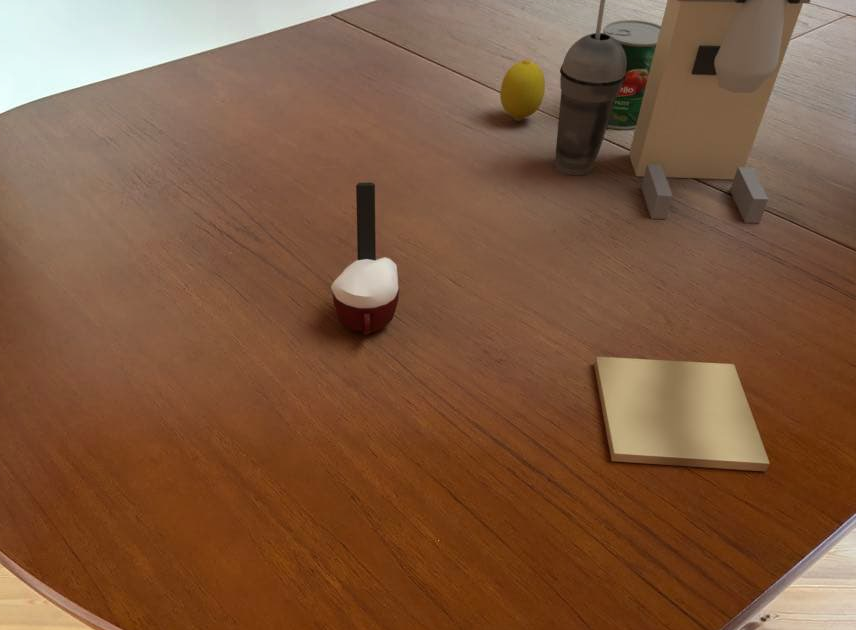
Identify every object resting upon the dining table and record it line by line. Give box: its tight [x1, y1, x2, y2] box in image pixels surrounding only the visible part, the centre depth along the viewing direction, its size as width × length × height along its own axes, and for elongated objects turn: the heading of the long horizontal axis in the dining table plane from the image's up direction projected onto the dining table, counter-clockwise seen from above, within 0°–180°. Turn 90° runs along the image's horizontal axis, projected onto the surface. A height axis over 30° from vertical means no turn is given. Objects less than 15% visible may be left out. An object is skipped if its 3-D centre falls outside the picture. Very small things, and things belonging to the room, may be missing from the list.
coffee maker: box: [628, 0, 811, 224], centre depth 92 cm, size 13×15×23 cm
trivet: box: [593, 356, 771, 472], centre depth 73 cm, size 12×12×1 cm
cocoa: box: [330, 181, 400, 335], centre depth 79 cm, size 10×6×12 cm, turn 156°
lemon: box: [499, 58, 546, 121], centre depth 111 cm, size 6×6×8 cm
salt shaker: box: [714, 0, 787, 93], centre depth 83 cm, size 6×6×13 cm
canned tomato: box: [602, 19, 661, 131], centre depth 110 cm, size 8×8×11 cm
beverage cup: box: [554, 0, 626, 176], centre depth 97 cm, size 7×7×20 cm
